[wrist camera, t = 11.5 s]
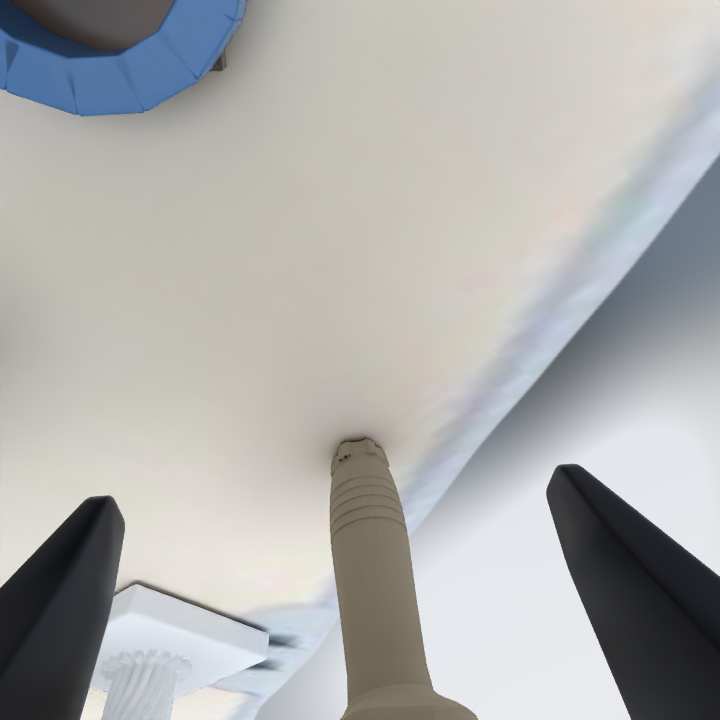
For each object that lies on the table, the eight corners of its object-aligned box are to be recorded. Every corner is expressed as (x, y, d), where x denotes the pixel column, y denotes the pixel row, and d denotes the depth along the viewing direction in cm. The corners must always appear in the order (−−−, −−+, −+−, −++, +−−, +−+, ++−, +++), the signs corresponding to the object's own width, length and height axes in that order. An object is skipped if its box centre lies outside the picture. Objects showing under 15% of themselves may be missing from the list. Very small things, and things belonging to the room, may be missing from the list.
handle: (291, 459, 28) (287, 791, 16) (377, 406, 26) (442, 740, 14) (341, 494, 31) (368, 802, 19) (422, 448, 29) (509, 760, 17)
